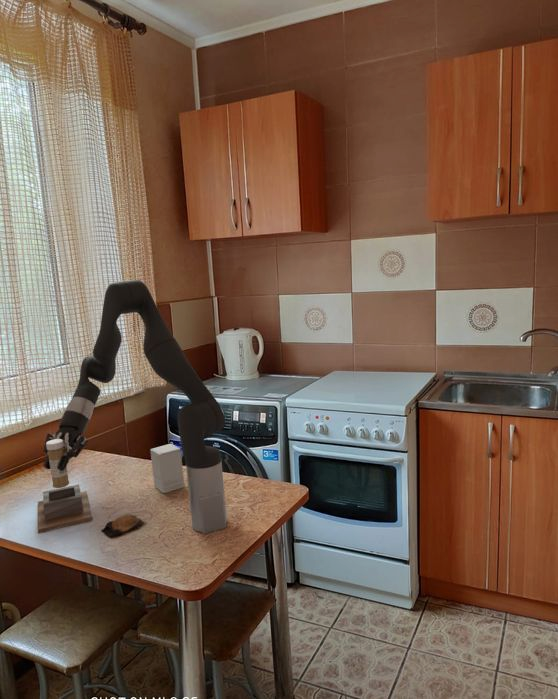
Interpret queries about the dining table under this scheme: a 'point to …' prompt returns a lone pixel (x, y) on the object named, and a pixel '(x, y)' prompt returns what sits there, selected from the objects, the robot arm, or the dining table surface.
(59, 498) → the collar board
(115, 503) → the dining table surface
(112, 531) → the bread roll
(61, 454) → the sprinkles bottle
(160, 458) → the supplement box
